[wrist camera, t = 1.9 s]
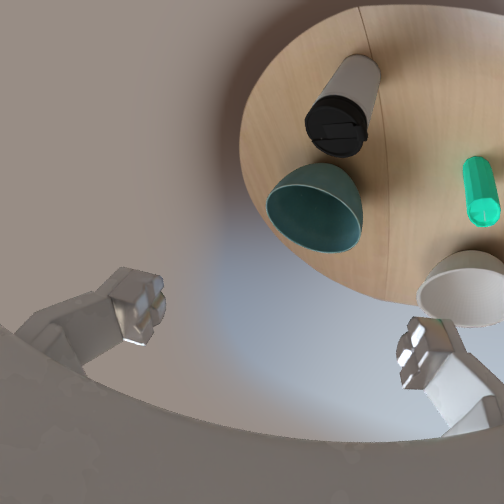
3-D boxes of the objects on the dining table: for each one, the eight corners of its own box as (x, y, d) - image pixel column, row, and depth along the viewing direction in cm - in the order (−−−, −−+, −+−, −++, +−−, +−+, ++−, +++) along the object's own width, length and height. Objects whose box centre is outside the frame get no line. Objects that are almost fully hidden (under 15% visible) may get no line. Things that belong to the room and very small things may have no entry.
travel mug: (387, 88, 33) (373, 160, 24) (348, 91, 37) (313, 163, 28) (376, 51, 29) (356, 103, 20) (335, 57, 33) (290, 113, 24)
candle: (485, 187, 35) (492, 238, 30) (458, 177, 38) (462, 228, 33) (496, 162, 31) (508, 213, 25) (467, 151, 33) (475, 200, 28)
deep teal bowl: (370, 217, 58) (358, 262, 53) (296, 202, 66) (275, 242, 61) (374, 149, 44) (362, 195, 38) (281, 139, 52) (254, 178, 47)
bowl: (485, 303, 58) (482, 335, 53) (409, 278, 68) (402, 310, 64) (537, 251, 35) (541, 290, 31) (444, 212, 46) (442, 252, 41)
